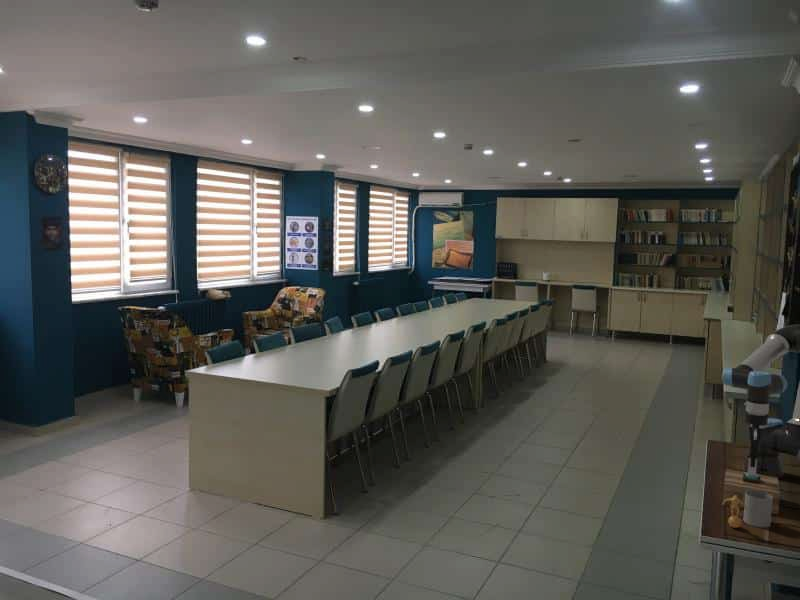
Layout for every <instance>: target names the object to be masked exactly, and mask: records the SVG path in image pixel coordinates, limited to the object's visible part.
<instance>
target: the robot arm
mask: <svg viewBox="0 0 800 600" xmlns="http://www.w3.org/2000/svg"><path fill="white" fill-rule="evenodd" d="M791 352H793V353H797V354H798V353H800V324H791V325H787V326H784V327H781V328H779V329H777V330H775V331H773V332H771V333H770V334H769V335H768V336H767V337H766V339H765V342H764V343H763V344H761V345H760V346H759V347H758V348H757V349H756V350H754V351H753V352H752V353H751V354H750V355H749V356H748V357H746V358H745V359H744V360H743V361H742V362H741V363H740V364H739V365H737V366H736V367H733V366H732V367H729V366H728V367H725V368H724V369H723V371H722V374H721V381H722V383H723V384H724V385H725V386H728V387H731V388H737V389H742V390H746V392H747V393H746V398H745V399H746V400H745V401H746V402H744V406H745V412H744V422H745V423H747V424H749V425H750V426H749V428H748V429H749V431H748V432H749V444H748V453H747V455H746V457H745V460H744V462H743V464H742V471H743V472H747V473H748V474H749V475H755V476H756V474H759V475H765V476H771V477H777V478H778V479H780V478H782V477H783V476H784V468H783V466H782V461H781V454H784V455H786V456H790V457H794V458H798V459H800V381H799V382H798V388H797V392H796V399H795V403H794V408H793V414H792V418H791V419H789V420H788V421H787V422H786V425H784V422H783V420H781V419H779V418H773V417H772V418H771V417H769V415H768V414H769V413H770V411H769V410H770V409H769V407H770V398H771V397H770V396H773V395H779V394H781V393H784V392H785V391H786V390H787V388H788V381H787V379H786V377H785V376H783V374H780V373H772V374H771V373H770V372H766V371H764V370H765V369H767V368H768V367H769V366H770V365H771V364H772V363H774V361H775V360H777V359H778V358H779V357H780V356H784V355H786V354H787V353H791Z"/></svg>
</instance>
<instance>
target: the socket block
mask: <svg viewBox="0 0 800 600" xmlns="http://www.w3.org/2000/svg"><path fill="white" fill-rule="evenodd" d="M779 483H780V482H779V478H777V477H771V476H765V475H759V474H758V480H753V479H747V478H746V472H745V471H738V470H734V469H729V468H725V472H724V482H723V497H722V503H723V502H724V500H725V499H730V498H733V497H734V496H735V495H737V498H738V500H740V501H741V502H742V503H744V504H745V493H746V491H748V490H757V491H762V492H766V493H768V494H770V495H772V496H773V499H772V511H771V515H772V514H773V515H779V507H780V494H781V492H780V485H779ZM723 505H724V506H730V507H731V505H733V504H732V502H731V501H726V502H725V503H724V504H723ZM738 506H739V509H741V508H742V509H744V505H742V504H740V503H738V505H737V507H738Z"/></svg>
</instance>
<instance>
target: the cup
mask: <svg viewBox="0 0 800 600" xmlns="http://www.w3.org/2000/svg"><path fill="white" fill-rule="evenodd" d="M772 499H773V496H772V495H770V494H768V493H766V492H762V491H757V490H748V491H746V493H745V505H746V507H747V508H748V510H747V509H746V508H745V506H744V508H743V519H742V520H743V521H744V522H745V523H746V524H747V525H749V526H752V527H757V528H769V527H771V521H772V513H771V511H772ZM748 511H749V512H748Z"/></svg>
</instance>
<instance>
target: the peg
mask: <svg viewBox="0 0 800 600" xmlns="http://www.w3.org/2000/svg"><path fill="white" fill-rule="evenodd" d="M746 478H747V479H753V480H758V474H756V476H755V475H749V474H748V473H747V472H746Z"/></svg>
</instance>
